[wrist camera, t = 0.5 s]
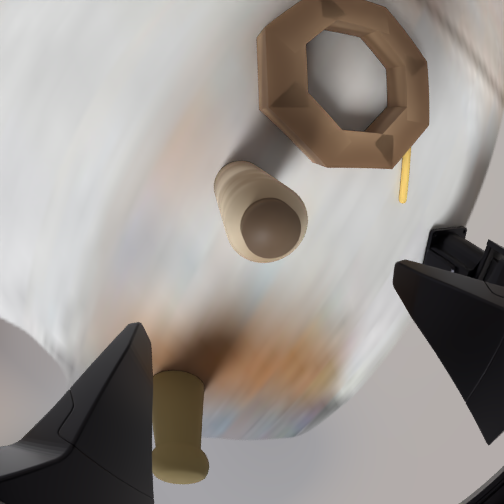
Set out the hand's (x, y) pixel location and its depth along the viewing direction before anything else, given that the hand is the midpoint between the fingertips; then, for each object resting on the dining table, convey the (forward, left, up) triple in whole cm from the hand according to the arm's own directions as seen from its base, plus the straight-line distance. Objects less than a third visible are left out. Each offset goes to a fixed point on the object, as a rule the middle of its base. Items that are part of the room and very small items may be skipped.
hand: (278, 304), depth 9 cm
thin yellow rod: (-15, -3, -12) cm, 19 cm away
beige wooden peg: (-1, -1, -12) cm, 12 cm away
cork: (+7, +19, -12) cm, 24 cm away
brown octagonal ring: (-9, -9, -12) cm, 17 cm away
